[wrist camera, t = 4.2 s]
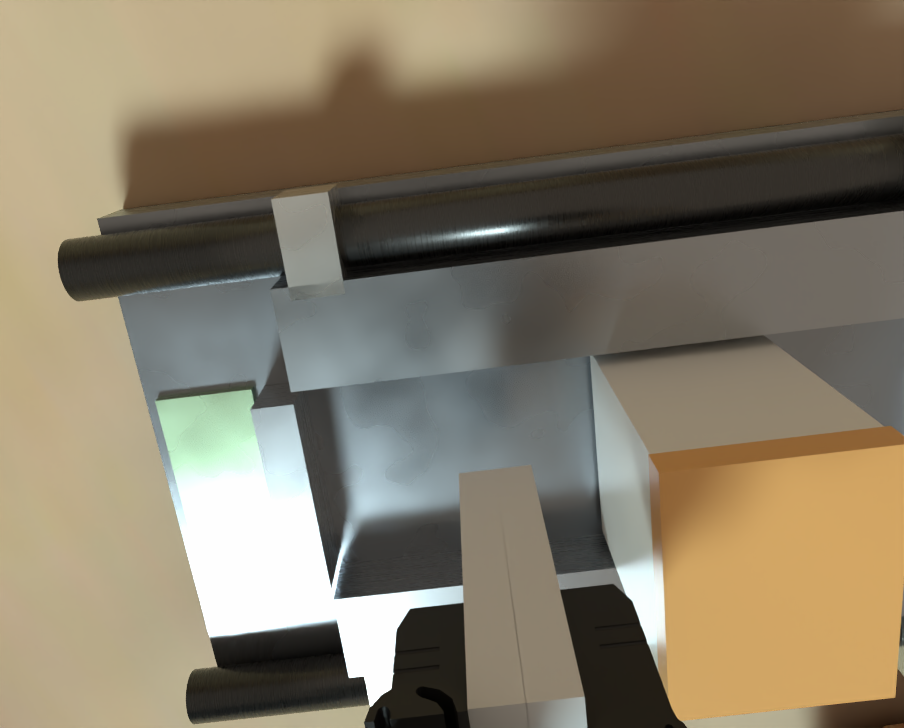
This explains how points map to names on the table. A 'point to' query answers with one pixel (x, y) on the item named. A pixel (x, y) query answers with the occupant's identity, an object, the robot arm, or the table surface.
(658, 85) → the table surface
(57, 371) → the table surface
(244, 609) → the panel
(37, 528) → the table surface
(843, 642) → the orange grey block
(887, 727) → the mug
